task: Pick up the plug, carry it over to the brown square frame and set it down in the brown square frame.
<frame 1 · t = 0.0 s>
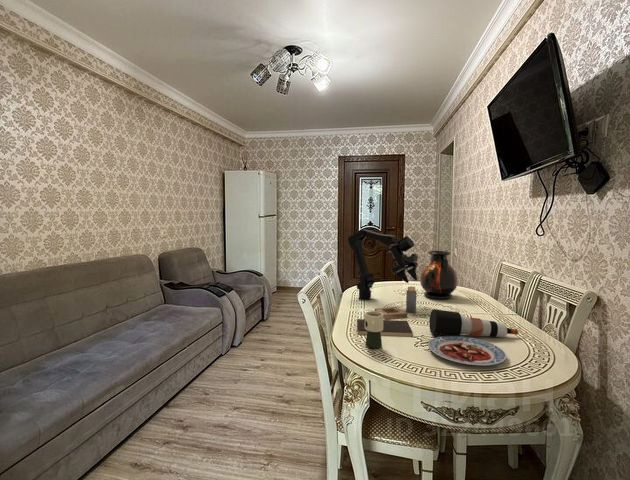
hand: (412, 281, 178), 15 cm above the table, tool tilted 35°, fingers open, 9 cm apart
dark orange vase: (438, 297, 204), on the table
character mug: (373, 346, 129), on the table
hardcover book: (383, 330, 148), on the table
brown square frame: (390, 314, 169), on the table
plug: (411, 311, 174), on the table
ceramic plate: (465, 355, 122), on the table
black white tapered cylinder: (473, 336, 139), on the table
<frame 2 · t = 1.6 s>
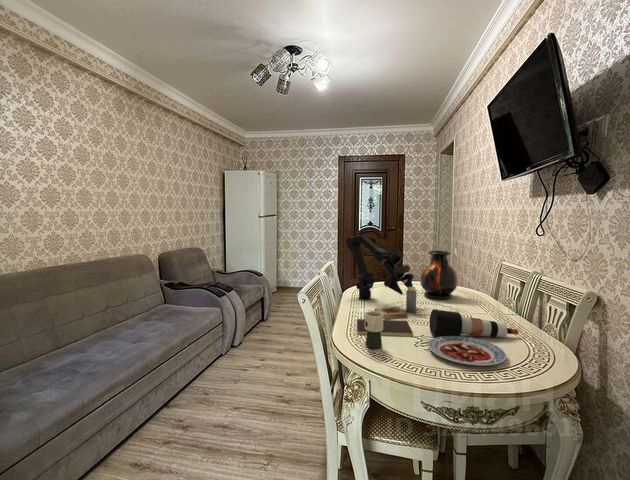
hand: (407, 292, 175), 10 cm above the table, tool tilted 45°, fingers open, 9 cm apart
nothing on the table moved.
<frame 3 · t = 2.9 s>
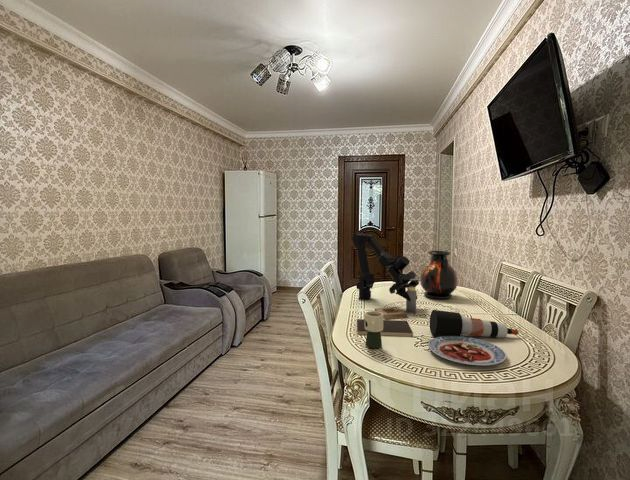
hand: (413, 299, 172), 7 cm above the table, tool tilted 45°, fingers closed on plug, 5 cm apart
plug: (411, 311, 174), on the table, touching gripper
everything else where it was.
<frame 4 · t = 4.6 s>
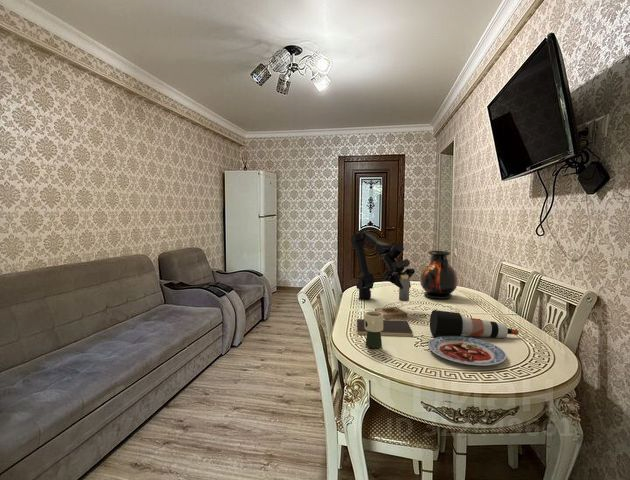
hand: (406, 288, 169), 13 cm above the table, tool tilted 45°, fingers closed on plug, 5 cm apart
plug: (404, 300, 171), point 7 cm above the table, touching gripper
everything else where it was.
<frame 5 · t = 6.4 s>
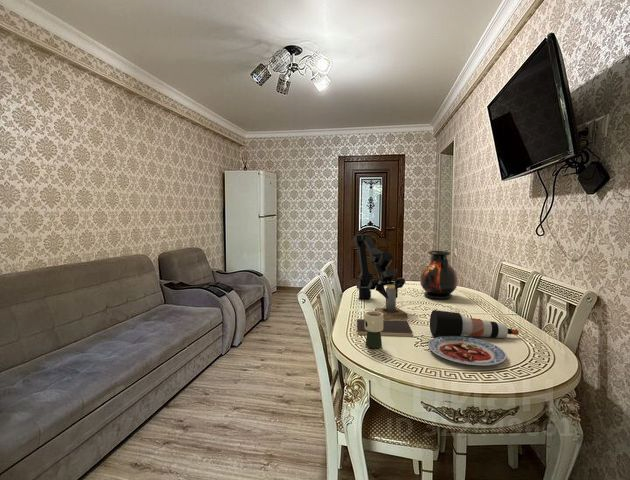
hand: (392, 298, 167), 9 cm above the table, tool tilted 45°, fingers closed on plug, 5 cm apart
plug: (390, 310, 169), point 2 cm above the table, touching gripper
everything else where it was.
when the fingers open (9 cm above the table, at t = 6.4 s): plug drops 2 cm, resting in brown square frame.
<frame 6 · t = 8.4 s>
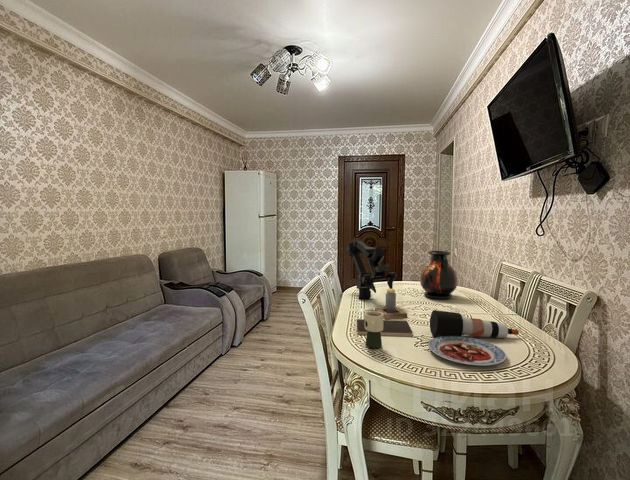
hand: (383, 291, 177), 10 cm above the table, tool tilted 45°, fingers open, 9 cm apart
plug: (390, 314, 169), resting in brown square frame
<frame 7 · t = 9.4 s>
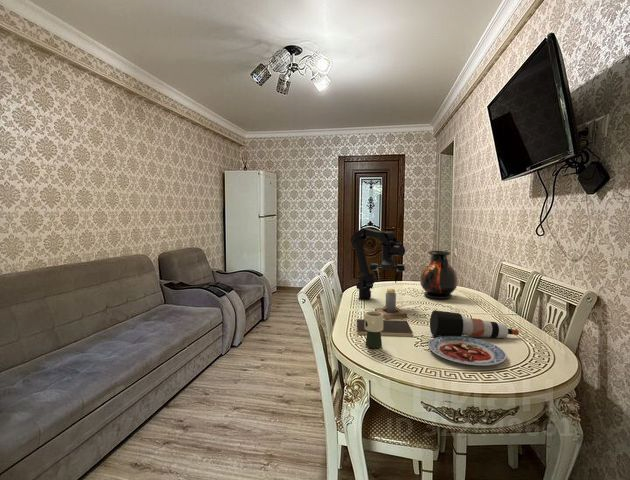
hand: (387, 282, 185), 13 cm above the table, tool pointing down, fingers open, 9 cm apart
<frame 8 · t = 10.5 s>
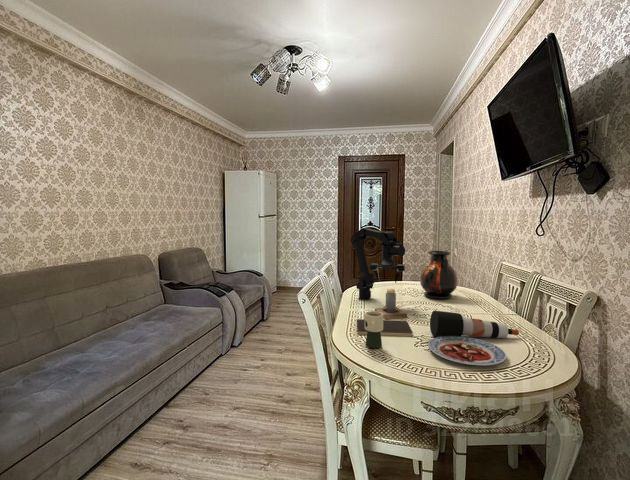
hand: (387, 282, 185), 13 cm above the table, tool pointing down, fingers open, 9 cm apart
at the end: plug 0.0 cm off-centre on the brown square frame, point 0.0 cm above the brown square frame's base; plug tilted 0°; the gripper is holding nothing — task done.
